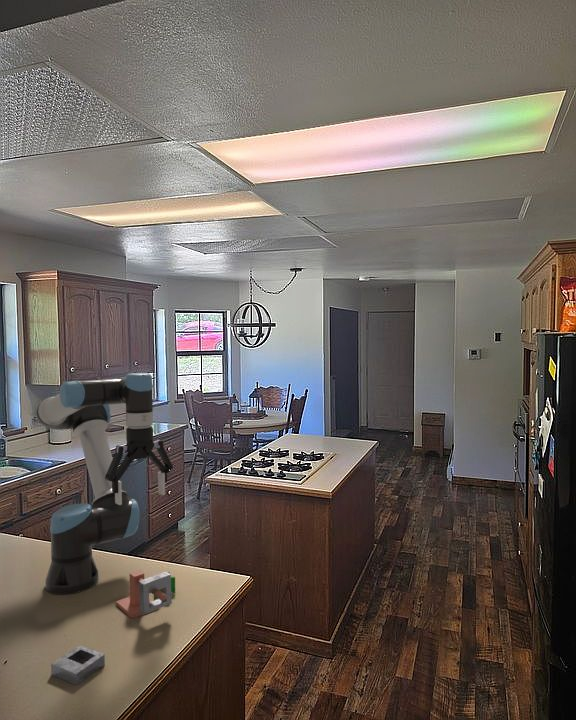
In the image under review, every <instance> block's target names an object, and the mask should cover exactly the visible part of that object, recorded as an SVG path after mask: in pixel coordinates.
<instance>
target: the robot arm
mask: <svg viewBox="0 0 576 720" xmlns="http://www.w3.org/2000/svg"><path fill="white" fill-rule="evenodd" d="M153 390H154V384H153V376H152V374H151V373H147V372H146V373H144V372H141V373H140V372H137V373H136V372H135V373H134V372H133V373H128V374H126V376H125V377H118V378H112V379H111V378H108V379H95V380H93V379H91V380H71V381H64V382H63V383H62V384H61V386H60V389H59V393H58V394H57V395H55V396H49V397H47V398H45V399H43V400H42V401H41V402H40V403H39V404H38V406H37V407H36V411H35V412H36V413H35V414H36V415H35V416H36V418H37V420H38V422H39V423H40V424H41V425H43V426H44V427H46V428H48V429H52V430H57V431H58V430H60V431H62V430H72V432H73V435H74V436H75V437H77V438H79V440H80V444H81V449H82V451H83V452H82V453H83V455H84V460H85V463H86V467H87V468H86V469H87V471H88V476H89V480H90V484H91V487H92V491H93V496H94V499H93V501H92V502H91V504H89V503H86V502H80V503H74V504H68V505H67V506H63V507H61V508H59V509H58V510H56V511H55V512H54V513H53V514H52V516H51V518H50V528H49V532H50V557H51V561H50V563H49V564H50V565H49V568H48V572H47V573H46V577H45V590H46V591H47V592H48V593H50V594H53V595H72V594H76V593H80V592H83V591H86V590H88V589H90V588H92V587H94V586H95V585H96V584H97V583H98V582H99V570H98V567H97V565H96V562H95V559H94V557H93V547H94V546H97V545H100V544H103V543H104V544H105V543H110V542H113V541H116V540H123V539H124V538H127V537H130V536H133V535H135V534H136V532H137V530H138V527H139V525H140V508H139V503H138V502H137V500H136V499H135V498H129V495H128V492H127V491H125V490H123V489H122V486H123V485H122V481H121V478H122V477H123V476H124V474H125V472H126V471H127V470H128V468H129V467H130V465H131V464H132V463H133V462H134V461H135V460H141V459H147V458H149V459H150V461H151V462H152V463H153V464H154V465H155V466H156V467H157V468H158V469H159V471H157V491H158V492H157V493H158V495H161V496H165V495H166V483H167V482H168V473H169V472H170V470H173V468H174V465H173V464H172V462H171V460H170V457H169V455H168V453H167V452H166V450H165V448H164V447H165V446H164V441H163V440H161V439H156V440H155V441H153V440H154V428H153V426H152V425H153V424H154V418H153V417H154V415H153V414H154V411H153V410H154V408H153V407H154V406H153V405H154V403H153V401H154V397H153V396H154V395H153V393H154V391H153ZM119 404H120V405H121V404H125V425H126V427H127V428H126V433H125V434H126V436H125V438H126V445H116V446H115V451H114V452H115V454H114V455H112V452H111V449H110V445H109V440H108V437H107V434H106V430H107V428H108V427H109V424H110V423H111V417H112V415H111V407H110V405H119ZM154 448H155V449H156V450H157V453H158V455H159V456H160V458H161V460H160V459H159V458H158V457H157V456H156V454H155V453H154V451H153V449H154ZM126 452H127V453H126ZM125 453H126V455H125V456H124V454H125ZM123 456H124V459H123V460H122V458H123ZM121 461H122V462H121Z"/></svg>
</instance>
